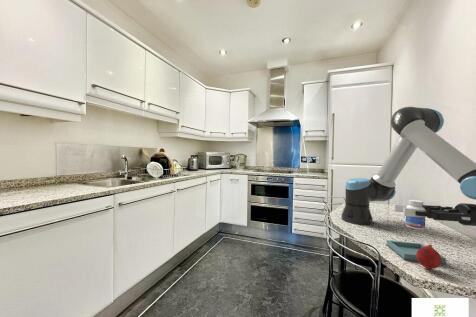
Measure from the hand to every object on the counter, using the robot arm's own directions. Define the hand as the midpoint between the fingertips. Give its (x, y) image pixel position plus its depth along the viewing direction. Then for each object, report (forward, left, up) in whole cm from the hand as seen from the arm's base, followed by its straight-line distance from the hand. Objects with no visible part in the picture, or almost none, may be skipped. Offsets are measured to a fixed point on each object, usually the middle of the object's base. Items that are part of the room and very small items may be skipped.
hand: (399, 209), depth 76 cm
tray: (0, +5, -16) cm, 17 cm away
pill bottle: (0, +5, -6) cm, 8 cm away
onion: (+11, +3, -16) cm, 20 cm away
